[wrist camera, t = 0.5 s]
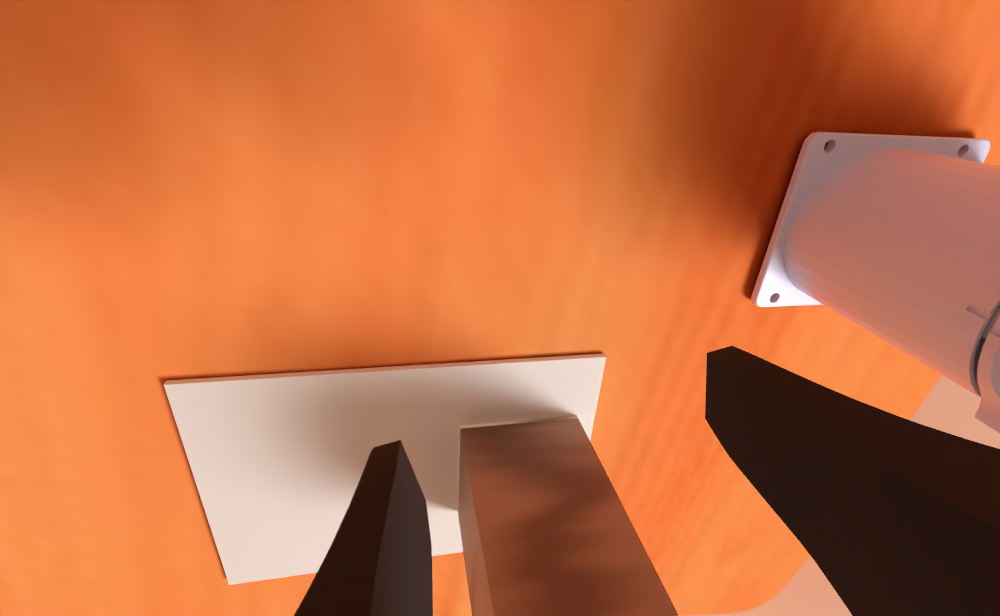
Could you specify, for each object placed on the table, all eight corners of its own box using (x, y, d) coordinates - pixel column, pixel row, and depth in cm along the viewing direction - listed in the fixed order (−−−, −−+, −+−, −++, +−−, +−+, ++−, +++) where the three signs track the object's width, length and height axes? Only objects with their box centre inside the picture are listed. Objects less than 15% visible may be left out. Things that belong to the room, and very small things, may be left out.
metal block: (577, 415, 24) (677, 615, 16) (562, 497, 27) (642, 706, 19) (459, 425, 23) (500, 647, 15) (457, 510, 26) (490, 740, 17)
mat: (603, 353, 23) (606, 356, 23) (570, 532, 29) (571, 536, 29) (166, 380, 19) (163, 384, 19) (230, 579, 25) (229, 585, 25)
